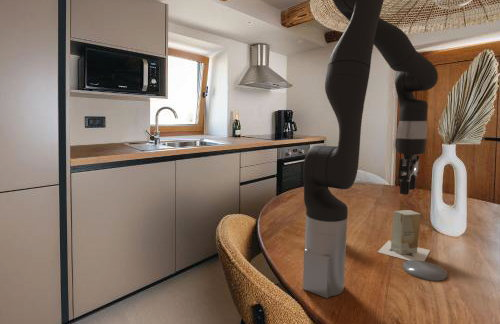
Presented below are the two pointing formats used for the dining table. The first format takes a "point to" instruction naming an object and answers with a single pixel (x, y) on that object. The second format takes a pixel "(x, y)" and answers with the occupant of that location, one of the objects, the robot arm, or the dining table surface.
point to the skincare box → (405, 231)
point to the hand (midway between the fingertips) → (407, 191)
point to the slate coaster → (425, 270)
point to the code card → (418, 256)
